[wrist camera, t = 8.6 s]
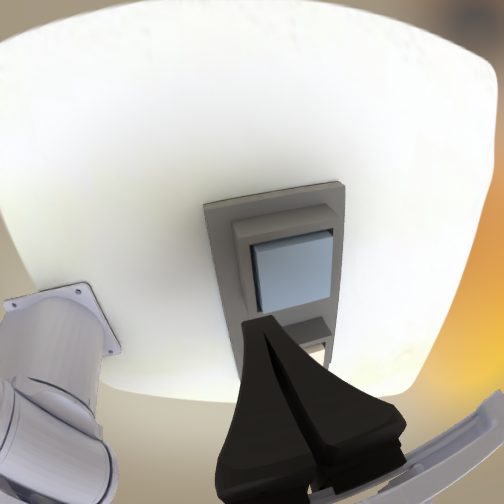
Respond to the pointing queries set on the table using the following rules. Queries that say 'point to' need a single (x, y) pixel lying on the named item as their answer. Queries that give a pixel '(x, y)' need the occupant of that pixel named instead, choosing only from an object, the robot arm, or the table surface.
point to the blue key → (292, 270)
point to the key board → (266, 229)
